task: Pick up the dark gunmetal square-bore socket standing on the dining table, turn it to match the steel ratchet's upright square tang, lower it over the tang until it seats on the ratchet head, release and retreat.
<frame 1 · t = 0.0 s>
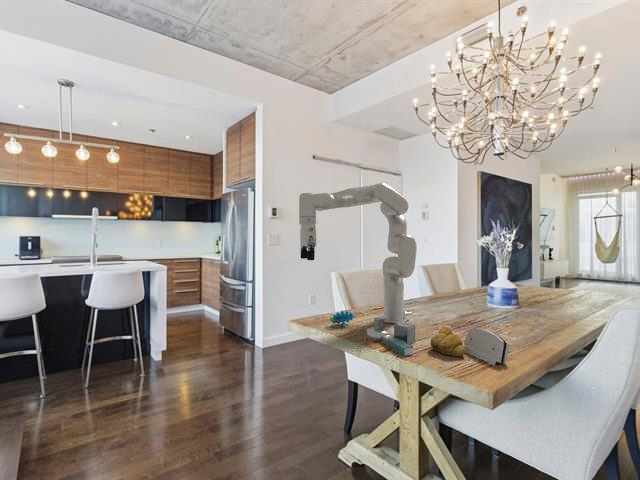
hand: (307, 259, 150), 31 cm above the table, fingers open, 9 cm apart
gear: (341, 326, 156), on the table
socket: (404, 341, 133), on the table
bread roll: (447, 353, 122), on the table
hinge: (484, 356, 118), on the table
ratchet: (378, 337, 138), on the table
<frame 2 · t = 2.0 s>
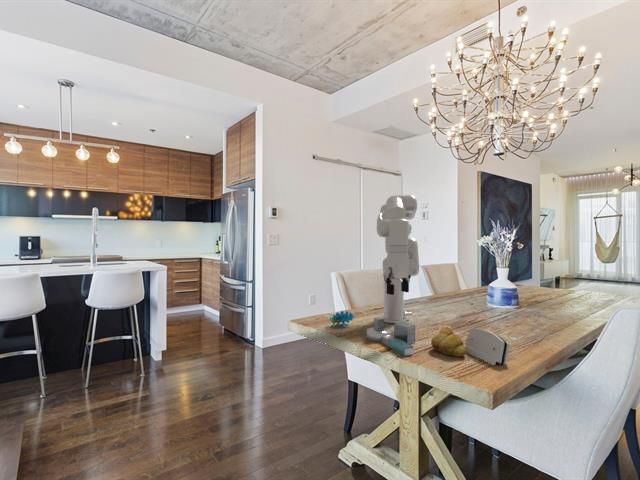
hand: (397, 293, 133), 19 cm above the table, fingers open, 9 cm apart
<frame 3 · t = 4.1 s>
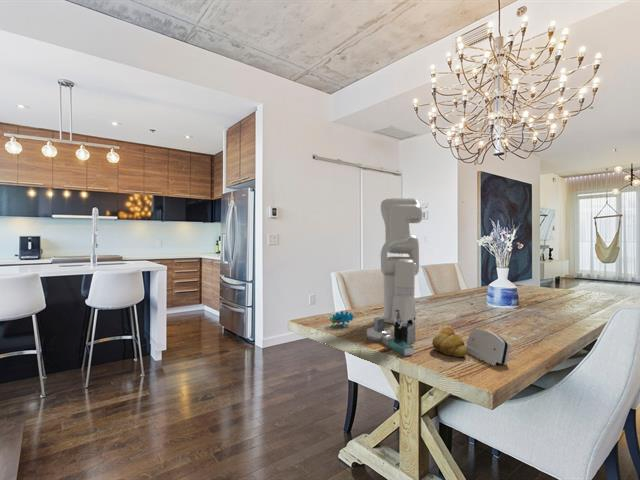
hand: (404, 335, 132), 3 cm above the table, fingers open, 7 cm apart
socket: (404, 341, 133), on the table, touching gripper
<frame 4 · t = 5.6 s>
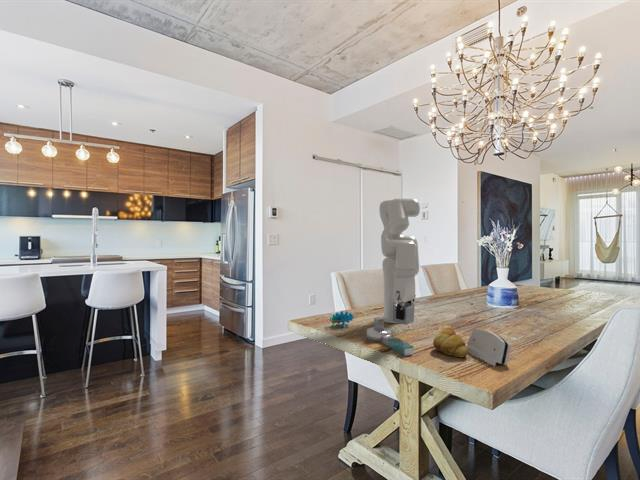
hand: (404, 316, 134), 10 cm above the table, fingers closed on socket, 6 cm apart
socket: (403, 321, 134), point 8 cm above the table, touching gripper
everything else where it was.
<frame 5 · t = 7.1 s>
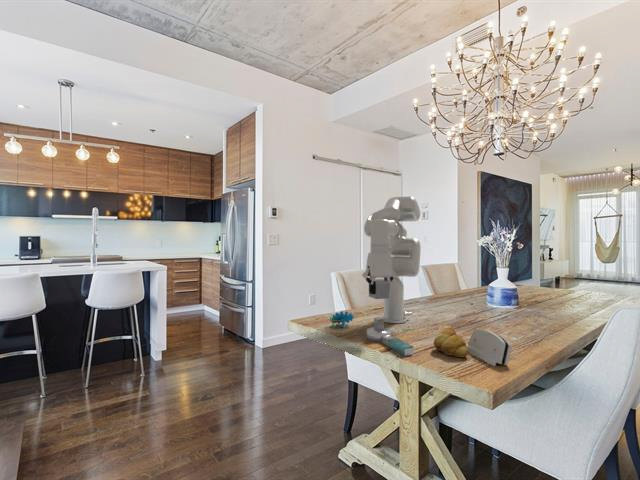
hand: (379, 292, 137), 19 cm above the table, fingers closed on socket, 6 cm apart
socket: (378, 297, 138), point 17 cm above the table, touching gripper
when the fingers open (5 cm above the table, at t = 9.5 s): socket stays where it is, resting on ratchet.
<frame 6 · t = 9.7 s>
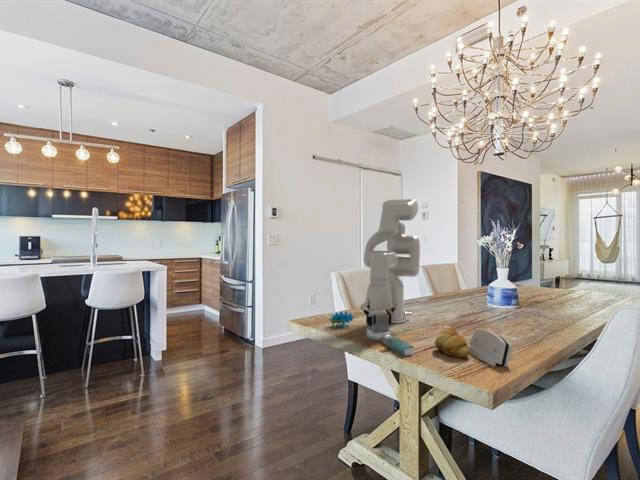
hand: (378, 324, 138), 6 cm above the table, fingers open, 8 cm apart
socket: (378, 330, 138), point 3 cm above the table, touching ratchet
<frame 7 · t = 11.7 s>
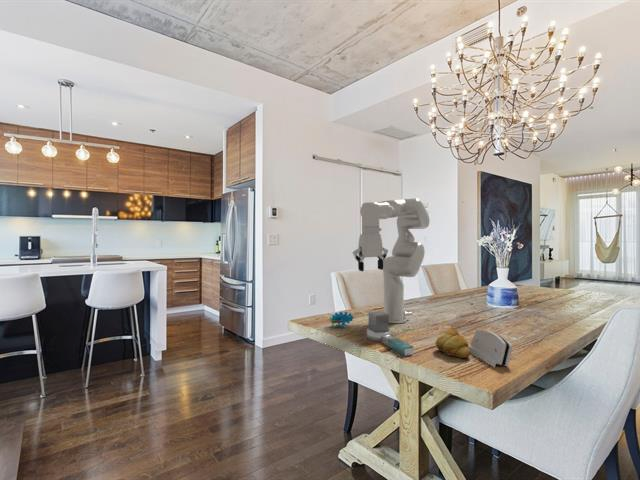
hand: (370, 270, 147), 27 cm above the table, fingers open, 9 cm apart
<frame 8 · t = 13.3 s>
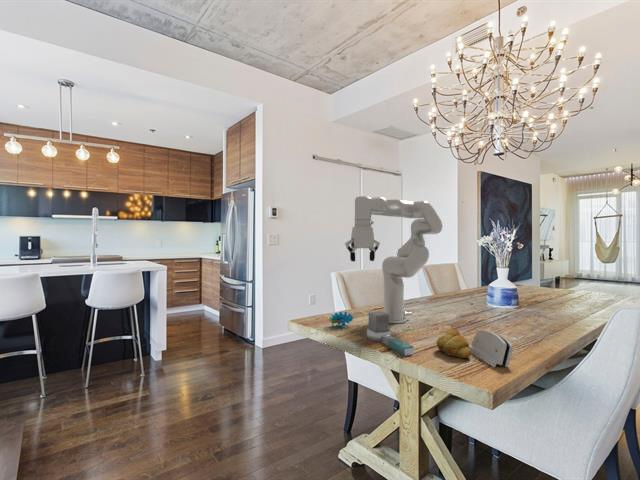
hand: (362, 261, 154), 30 cm above the table, fingers open, 9 cm apart
at the end: socket 0.5 cm off-centre on the ratchet, point 3.0 cm above the ratchet's base; socket tilted 0°; the gripper is holding nothing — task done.
